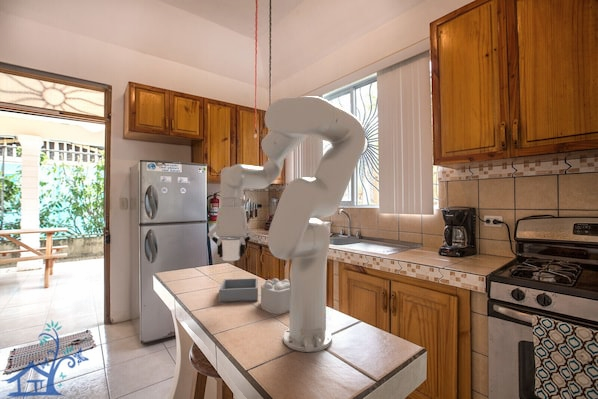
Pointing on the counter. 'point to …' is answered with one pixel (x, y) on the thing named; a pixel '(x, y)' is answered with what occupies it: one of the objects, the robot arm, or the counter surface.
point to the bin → (238, 290)
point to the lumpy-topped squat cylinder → (275, 296)
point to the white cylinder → (231, 249)
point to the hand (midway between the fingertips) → (231, 255)
